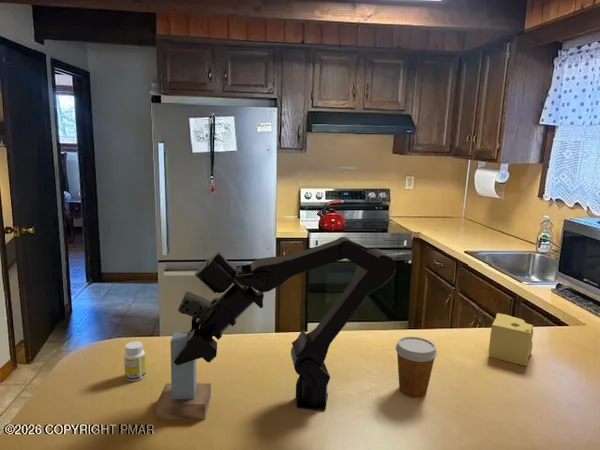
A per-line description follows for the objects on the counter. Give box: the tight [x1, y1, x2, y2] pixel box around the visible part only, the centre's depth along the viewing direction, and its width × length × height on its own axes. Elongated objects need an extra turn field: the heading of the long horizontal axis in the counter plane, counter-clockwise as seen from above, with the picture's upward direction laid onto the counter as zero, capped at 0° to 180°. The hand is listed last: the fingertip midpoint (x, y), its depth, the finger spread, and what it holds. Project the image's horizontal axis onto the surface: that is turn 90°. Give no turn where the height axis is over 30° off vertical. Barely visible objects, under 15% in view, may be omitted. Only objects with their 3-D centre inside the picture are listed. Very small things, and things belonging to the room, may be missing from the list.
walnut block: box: [155, 382, 212, 421], centre depth 97 cm, size 10×8×4 cm
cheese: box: [488, 312, 534, 367], centre depth 126 cm, size 10×11×10 cm
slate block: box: [170, 331, 197, 400], centre depth 96 cm, size 5×5×13 cm
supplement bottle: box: [123, 340, 147, 382], centre depth 109 cm, size 5×5×8 cm
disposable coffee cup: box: [395, 336, 438, 399], centre depth 106 cm, size 10×10×12 cm
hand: (177, 357), depth 95 cm, fingers open, 5 cm apart
